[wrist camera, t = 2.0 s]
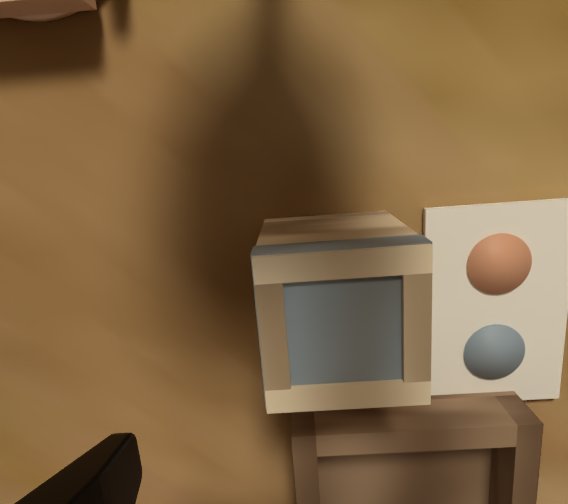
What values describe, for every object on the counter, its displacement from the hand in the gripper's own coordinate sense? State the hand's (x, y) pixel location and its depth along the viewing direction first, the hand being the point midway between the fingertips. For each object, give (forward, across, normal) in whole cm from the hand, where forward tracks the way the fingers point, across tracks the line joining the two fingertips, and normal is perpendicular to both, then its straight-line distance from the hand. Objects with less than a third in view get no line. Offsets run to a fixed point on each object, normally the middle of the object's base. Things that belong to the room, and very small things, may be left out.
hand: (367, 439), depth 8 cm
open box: (+10, -3, +12) cm, 16 cm away
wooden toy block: (+10, 0, 0) cm, 11 cm away
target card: (+10, -7, +2) cm, 13 cm away
